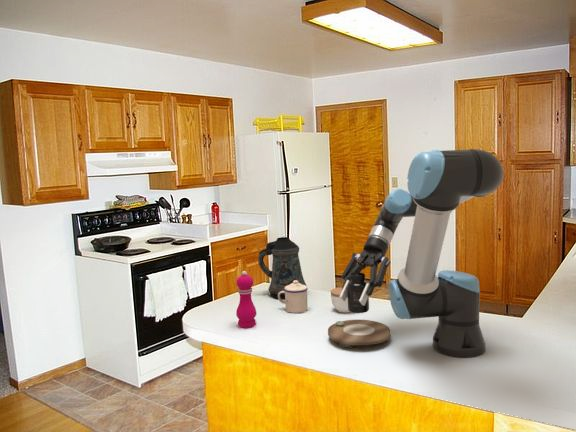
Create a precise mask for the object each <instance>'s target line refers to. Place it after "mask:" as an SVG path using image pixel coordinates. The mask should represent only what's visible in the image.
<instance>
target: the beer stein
mask: <svg viewBox="0 0 576 432" xmlns="http://www.w3.org/2000/svg"><path fill="white" fill-rule="evenodd" d="M299 252H300V247H299V245H297V244H296V243H295V242H294V241H292V240H291V238H290V237H287V236H282V237H277V238H276V240H275V241H271V242H268V243H267V244H266V245H265V248H263V249H262V250H260V251H259V253H258V257H257V261H258V266H259V268H260V269H261V270H262V272H263V273H264V274H265V275H266V277H269V278H270V279H271V280H270V284H269V287H268V292H269V295H270V298H272V299H275V300H278V301H279V299H278V293H279V292H281V291H285V290H284V289H285V287H286V286H287V285H290V284H291V283H293V281H295V280H297V281H298V283H301V284H302V285H306V286H307V284H306V281H305V279H304V276H303V272H302V268H301V262H300V257H299ZM271 255H272V263H271V266H272V267H271V270H270V269H269V268H268V267H267V265H266V263H265V262H264V258H265V257H266V256H271ZM280 298H281V300H282V301H285V293H281V294H280Z"/></svg>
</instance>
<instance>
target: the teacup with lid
mask: <svg viewBox="0 0 576 432" xmlns="http://www.w3.org/2000/svg"><path fill="white" fill-rule="evenodd" d="M284 290H285V291H281V292H279V293H278V299H279V300H278V299H277V300H278V301H279V302H280V303H281V304H283V305H284V304H285V311H286V312H288V313H290V314H302V313H304V312H306V311H308V309H309V306H308V286H307V284H306V285H302V284H301V283H298V281H297V280H295V281H293V283H291V284H290V285H287V286H286V287H285V289H284ZM281 293H285V300H281V298H280V294H281Z"/></svg>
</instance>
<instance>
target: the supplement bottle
mask: <svg viewBox="0 0 576 432" xmlns="http://www.w3.org/2000/svg"><path fill="white" fill-rule="evenodd" d="M350 280H351V281H350V282H349V283H348V285H347V296H348V310H349V311H350V312H349V313H352V314H353V313H354V314H364V313H368V311H370V296H369V297H368V299H367V301H366V304H365V306H363V305H362V304H361V303H360V302H359V300H360V298H361V295H362V293H363V291H364V288H365V286H366V284H367V283H368V282H367V281H366V274H365V273H364V272H360V273H351V274H350Z"/></svg>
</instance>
